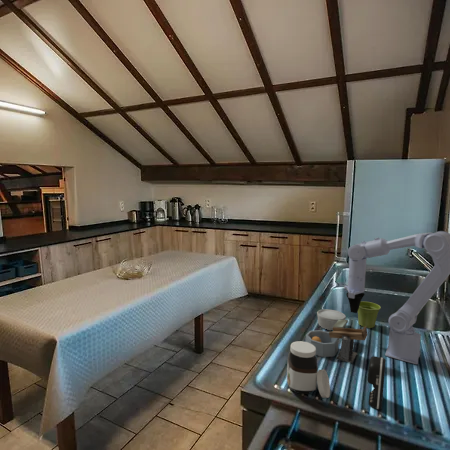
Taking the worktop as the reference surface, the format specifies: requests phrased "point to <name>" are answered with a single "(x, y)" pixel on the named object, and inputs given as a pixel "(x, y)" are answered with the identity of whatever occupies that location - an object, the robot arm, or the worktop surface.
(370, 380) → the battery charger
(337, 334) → the lever
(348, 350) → the fulcrum
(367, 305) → the plant pot
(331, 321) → the ramekin
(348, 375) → the worktop surface
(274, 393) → the worktop surface
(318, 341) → the ball
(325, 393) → the spread jar
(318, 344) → the bowl
